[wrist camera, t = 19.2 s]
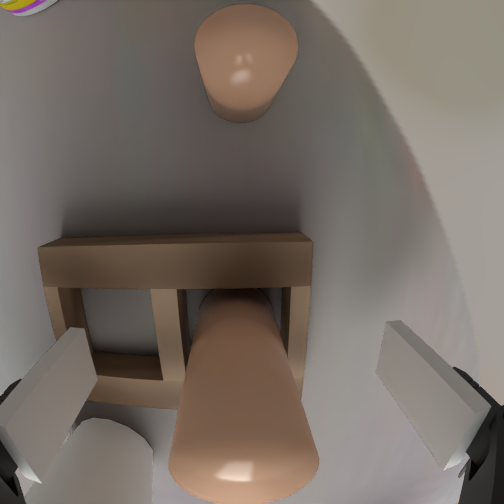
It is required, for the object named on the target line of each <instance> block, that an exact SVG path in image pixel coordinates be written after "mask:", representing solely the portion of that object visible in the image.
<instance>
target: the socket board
mask: <svg viewBox="0 0 504 504" xmlns="http://www.w3.org/2000/svg"><path fill="white" fill-rule="evenodd" d="M38 255H39V262H40V269H41V275H42V280H43V286H44V291H45V296H46V301H47V305H48V310H49V314H50V319H51V323H52V327H53V331H54V334H55V338H56V342H57V341H58V340H59V338H60V337H61V336H62V335H63V334H64V333H65V332H66V331H67V330H68V329H69V328H70V327H74V328H84V329H85V333H86V337H87V341H88V345H89V349H90V353H91V357H92V361H93V364H94V368H95V371H96V375H97V378H98V380H97V382H96V384H95V386H94V387H93V389H92V391H91V393H90V394H89V396H88V398H87V400H89V401H96V402H103V403H110V404H118V405H127V406H137V407H149V408H163V409H179V404H180V399H181V394H182V389H183V384H184V379H185V374H186V369H187V364H188V359H189V355H190V350H191V348H190V338H189V328H188V317H187V305H186V292H185V289H229V288H271V287H282V305H281V332H280V335H281V339H282V342H283V345H284V348H285V351H286V354H287V358H288V361H289V364H290V367H291V370H292V373H293V377H294V380H295V383H296V386H297V389H298V392H299V396H300V399H301V397H302V389H303V379H304V369H305V359H306V348H307V336H308V324H309V310H310V295H311V279H312V259H313V241H312V240H310V239H309V238H308V237H307V236H305V235H304V234H303V233H301V232H270V233H205V234H163V235H129V236H100V237H75V238H59V239H57V240H54V241H52V242H50V243H47V244H45V245H42V246H40V247H38ZM80 288H102V289H150V291H151V300H152V309H153V316H154V324H155V331H156V338H157V345H158V351H159V356H147V355H129V354H115V353H103V352H93V348H92V344H91V340H90V336H89V331H88V327H87V322H86V318H85V313H84V308H83V302H82V297H81V291H80Z"/></svg>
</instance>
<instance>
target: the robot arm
mask: <svg viewBox="0 0 504 504" xmlns="http://www.w3.org/2000/svg"><path fill="white" fill-rule="evenodd" d="M376 374H377V375H378V377H379V378H380V380H381V381H382V382H383V384H384V385H385V387H386V388H387V390H388V391H389V392H390V394H391V395H392V397H393V398H394V400H395V401H396V402H397V404H398V405H399V407H400V408H401V410H402V411H403V413H404V414H405V415H406V417H407V418H408V420H409V421H410V423H411V424H412V426H413V427H414V429H415V430H416V432H417V433H418V435H419V436H420V437H421V439H422V440H423V442H424V443H425V445H426V446H427V448H428V449H429V451H430V452H431V454H432V455H433V457H434V458H435V460H436V461H437V463H438V464H439V466H440V467H441V469H442V470H446V469H448V468H450V467H452V466H454V465H457V464H459V462H460V461H461V459H462V458H463V456H464V455H465V453H467V454H468V455H469V457H470V458H469V460H468V461H467V463H466V464H465V466H464V467H463V469H462V470H461V472H460V473H459V475H458V477H459V478H460V477H461V476H462V475H463V473H464V472H465V476H464V481H463V486H462V490H461V495H460V499H459V503H458V504H504V405H503V406H500V405H499V404H498V403H497V402H496V401H495V400H494V399H493V398H492V397H491V396H490V395H489V394H488V393H487V392H486V391H485V390H484V389H483V388H482V387H481V386H480V387H479V384H478V383H476V382H475V381H473V379H472V378H471V377H470V376H469V375H468V374H467V373H466V372H464V371H462V370H460V369H458V368H456V367H453V368H452V367H451V366H450V365H449V364H448V363H447V362H446V361H444V360H443V359H442V358H441V357H440V356H439V355H438V354H437V353H436V352H435V351H434V350H433V349H432V348H431V347H429V346H428V345H427V344H426V343H425V342H424V341H423V340H422V339H421V338H420V337H419V336H417V335H416V334H415V333H414V332H413V331H412V330H411V329H410V328H409V327H407V326H406V325H405V324H404V323H403V322H402V321H401V320H396V321H388V322H386V324H385V330H384V335H383V340H382V346H381V350H380V355H379V360H378V364H377V369H376ZM97 380H98V378H97V375H96V371H95V368H94V364H93V361H92V357H91V353H90V349H89V345H88V341H87V337H86V333H85V329H84V328H74V327H70V328H69V329H68V330H67V331H66V332H65V333H64V334H63V335H62V336H61V337H60V338H59V340H58V341H57V342H56V343H55V344H54V345H53V346H52V347H51V348H50V349H49V350H48V351H47V352H46V353H45V355H44V356H43V357H42V358H41V359H40V360H39V361H38V362H37V363H36V364H35V366H34V367H33V368H32V369H31V370H30V371H29V372H28V373H27V375H26V376H25V377H24V378H23V379H19V380H17V381H16V382H14V383H13V384H11V385H10V386H9V387H8V388H7V389H6V390H5V392H4V394H2V395H1V396H0V504H26V502H25V499H24V496H23V493H22V490H21V487H20V483H19V480H18V478H17V476H16V474H15V471H16V469H17V468H19V469H20V471H21V472H22V473H23V475H24V476H25V477H26V478H28V479H31V480H33V481H36V482H38V483H41V484H43V481H44V479H45V477H46V475H47V473H48V471H49V469H50V467H51V465H52V463H53V461H54V459H55V457H56V455H57V453H58V451H59V449H60V447H61V446H62V444H63V442H64V440H65V438H66V436H67V434H68V432H69V430H70V429H71V427H72V425H73V423H74V421H75V419H76V417H77V416H78V414H79V412H80V410H81V408H82V407H83V405H84V403H85V401H86V400H87V398H88V396H89V394H90V393H91V391H92V389H93V387H94V386H95V384H96V382H97Z"/></svg>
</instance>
